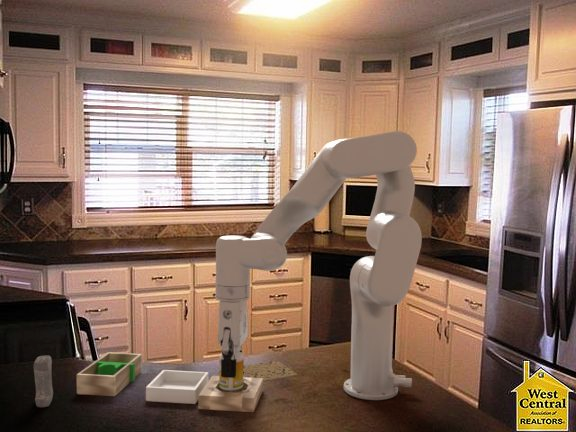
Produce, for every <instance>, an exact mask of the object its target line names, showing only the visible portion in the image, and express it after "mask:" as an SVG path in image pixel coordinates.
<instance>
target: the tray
mask: <svg viewBox="0 0 576 432" xmlns="http://www.w3.org/2000/svg"><path fill="white" fill-rule="evenodd" d="M209 380H210V378H209V372H207V371H205V372H204V371H189V370H172V369H170V370H169V369H163V370H161V372H159V373H158V374H157V375H156V376H155V377H154V378H153V379H152V380H151V382H150V383H149V384H147V385H146V387H145V401H146V402H159V403H173V404H192V405H196V403H198V395H199V394H200V392H201V391H202V390H203V388H204V387H205V385H206V384H207V383H208V381H209Z"/></svg>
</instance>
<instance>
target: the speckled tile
mask: <svg viewBox="0 0 576 432" xmlns="http://www.w3.org/2000/svg"><path fill="white" fill-rule="evenodd" d="M244 373H245V374H244ZM244 373H243V374H244V375H246V374H247V375H248V376H249V377H250V378H263V382H268V381H269V382H270V381H273V380H280V379H286V378H291V377H296V376H298V374H297V372H295V371H294V370H292V369H290V368H289V367H287V366H286V365H285V364H284V363H283V362H281V361H279V360H274V361H268V362H260V363H255V364H248V365H244ZM247 375H246V376H247ZM248 376H247V377H248Z"/></svg>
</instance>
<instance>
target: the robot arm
mask: <svg viewBox="0 0 576 432" xmlns="http://www.w3.org/2000/svg"><path fill="white" fill-rule="evenodd" d="M417 150H418V148H417V144H416V142H415V140H414V138H413V137H412V136H411V134H409V133H407V132H404V131H401V130H392V131H387V132H382V133H377V134H370V135H363V136H357V137H349V138H348V137H347V138H340V139H337V140H336V139H335V140H333V141H330V142H328V143H326V144H325V145H324V146H323V147H322V148H321V149H320V150H319V151H318V153H317V154H316V156H315V157H314V158H313V159H312V161H311V162H310V163H309V165H308V166H307V168H306V169H305V170H304V171H303V173H302V174H301V176H300V177H299V178H298V179H297V180H296V182H295V183H294V184H293V186H292V187H291V188H290V190H289V191H288V192H287V193H286V194H285V195H284V196H283V197H282V199H280V201H279V202H278V204H276V206H275V207H273V209H272V210H271V211H270V213H269V214H268V215H267V216H266V217H265V218H264V220H263V221H262V222H261V224H260V225H259V226H258V227H257V229H256V230H255V231H254V233H253V234H252V235H251V237H250V238H248V237H247V236H245V235H223V236H220V237H218V238H217V239H216V242H215V300H217V301H219V309H218V323H217V324H218V327H217V329H218V330H217V340H218V341H217V342H218V345H219V346H220V347H221V353H222V356H221V376H222V377H229V378H235V377H236V359H235V349H236V346H237V347H240V346H241V350H240V352H241V353H242V354H243V350H242V349H243V344H244V342H245V341H246V339H247V337H248V334H249V325H248V324H249V323H248V322H249V321H248V301H249V300H250V297H251V296H250V295H251V294H250V293H251V291H250V289H251V288H250V287H251V286H250V285H251V270H256V271H257V270H258V271H264V272H268V271H269V272H271V271H276V270H278V269H281V268H282V266H284V264H285V262H286V261H287V258H288V250H287V248H286V246H285V245H286V243H287V242H288V240H289V239H290V238H291V237H292V235H293V234H294V233H295V232H296V231H297V230H298V229H299V228H300V227H301V226H302V225H304V224H305V223H307V222H309V221H311V220H313V219H314V218H317V216H319V215H320V214H321V213H322V211H323V210H324V209H325V208H326V206H327V205H328V204H329V202H330V201H331V200H332V198H333V197H334V196H335V194H336V193H337V192H338V190H339V189H340V187H342V185H343V184H344V182H345V181H346V180H347V179H356V178H362V177H368V176H376V181H377V186H376V187H377V189H376V193H375V197H374V198H375V199H374V202H373V206H372V208H371V209H372V210H371V213H370V217H369V220H368V223H367V227H366V233H365V237H366V241H367V243H368V245H370V247H371V248H373V249H374V250H375V255H369V256H366V255H365V256H364V257H361V258H360V259H358V260H357V261H356V262H355V263H354V264H353V266H352V268H351V269H350V275H349V288H350V297H351V298H350V299H351V329H350V330H351V334H350V335H351V337H350V339H351V340H350V378H348V379H345V381H344V383H343V390H344V392H345V393H346V394H348V395H349V396H352V397H354V398H357V399H360V400H361V399H362V400H367V401H383V400H389V399H392V398H394V397H396V396H397V395H398V393H399V387H400V386H401V387H407V388H412V385H413V378H411V377H410V378H409V377H406V375H401V374H400V375H399V374H396V373H394V371H393V367H392V366H393V365H392V364H393V332H394V331H393V330H394V328H393V327H394V308H393V306H395V305H398V304H399V303H401V302H402V301H403V300H404V299H405V298H406V296H407V294H408V292H409V290H410V288H411V284H412V281H413V277H414V274H415V270H416V267H417V263H418V259H419V255H420V251H421V248H422V240H423V238H422V237H423V235H422V231H421V228H420V225H419V224H418V222H417V221H416V220H415V219H414V218H413V217H411V216H410V214H411V210H412V205H413V202H414V198H415V191H416V190H415V189H416V185H415V183H416V182H415V178H414V173H413V171H412V168H411V165H412V164H413V162H414V160H416V156H417V152H418V151H417ZM229 342H233V345H229ZM229 348H232V352H231V350H229Z"/></svg>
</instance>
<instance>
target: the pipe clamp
mask: <svg viewBox="0 0 576 432" xmlns="http://www.w3.org/2000/svg"><path fill="white" fill-rule="evenodd" d="M95 361H96V360H94V361H92V363H94V362H95ZM92 363H91V364H92ZM127 364H128V363H118V362H102V361H99V362H97V369H98V373H97V375H112V376H113V375H114V374H116V373H117V372H118V371H119V370H121V369H122V368H123V367H124V366H125V365H127ZM135 381H136V377H135V363H131V364H130V383H134V382H135Z"/></svg>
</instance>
